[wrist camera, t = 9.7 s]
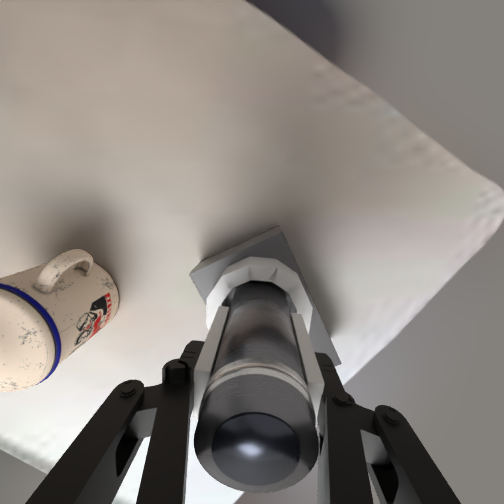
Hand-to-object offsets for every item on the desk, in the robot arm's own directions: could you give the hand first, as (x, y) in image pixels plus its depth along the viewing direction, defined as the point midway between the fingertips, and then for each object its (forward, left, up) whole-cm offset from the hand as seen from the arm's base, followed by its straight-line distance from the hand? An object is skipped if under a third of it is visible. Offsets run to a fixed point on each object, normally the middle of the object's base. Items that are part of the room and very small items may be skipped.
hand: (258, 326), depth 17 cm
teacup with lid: (-8, -17, -8) cm, 21 cm away
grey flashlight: (0, 0, -4) cm, 4 cm away
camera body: (+2, 0, -8) cm, 8 cm away
